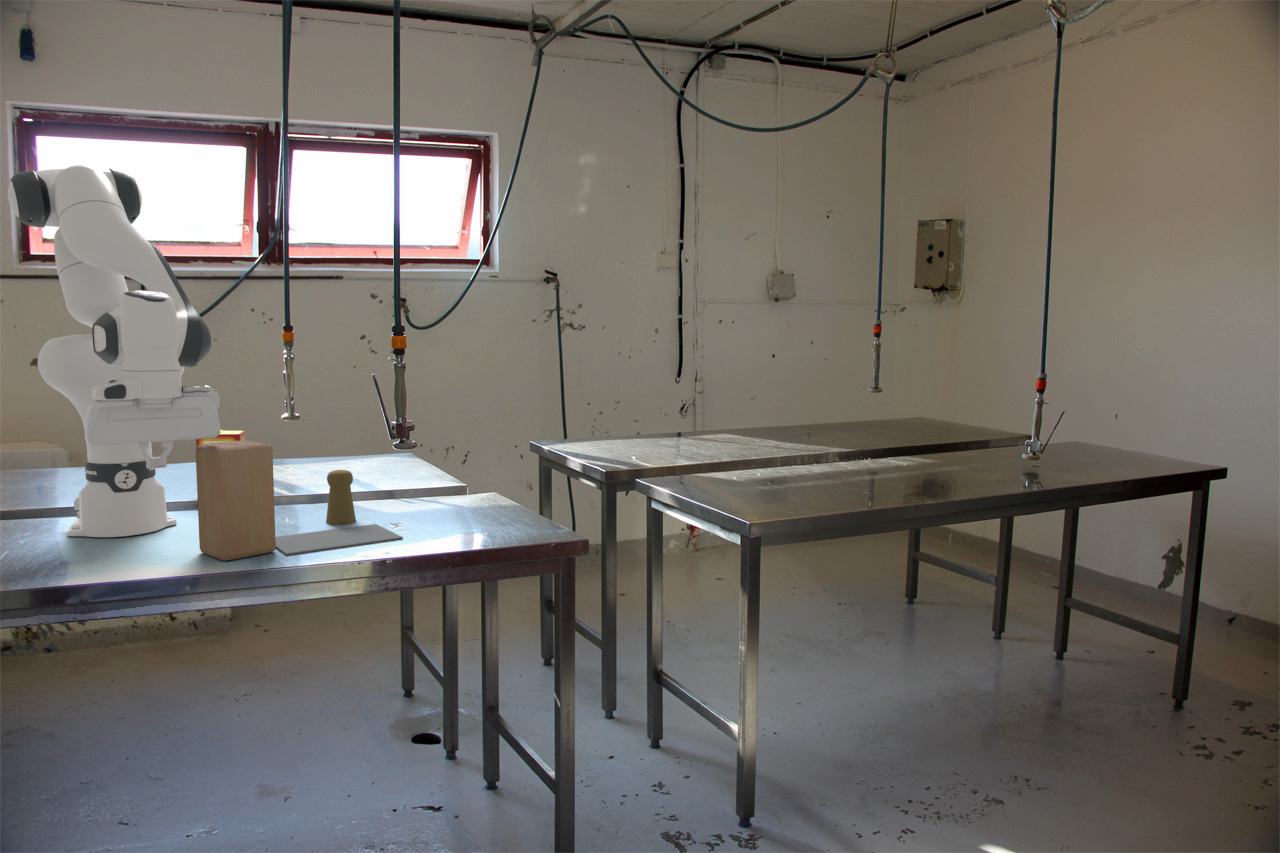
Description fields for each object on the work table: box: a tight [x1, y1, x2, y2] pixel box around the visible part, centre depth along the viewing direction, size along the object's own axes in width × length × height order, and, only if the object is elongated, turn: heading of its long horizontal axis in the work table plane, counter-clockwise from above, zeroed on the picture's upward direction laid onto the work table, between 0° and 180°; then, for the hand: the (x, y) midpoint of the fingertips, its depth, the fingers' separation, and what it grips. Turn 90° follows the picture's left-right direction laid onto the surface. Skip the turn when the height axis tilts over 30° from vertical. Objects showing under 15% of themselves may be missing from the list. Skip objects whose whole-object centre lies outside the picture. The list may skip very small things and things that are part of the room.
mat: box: [275, 523, 404, 557], centre depth 171 cm, size 14×22×1 cm, turn 128°
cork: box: [325, 469, 357, 526], centre depth 186 cm, size 6×6×11 cm
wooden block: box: [195, 439, 276, 562], centre depth 159 cm, size 10×10×20 cm
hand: (156, 467), depth 151 cm, fingers closed
